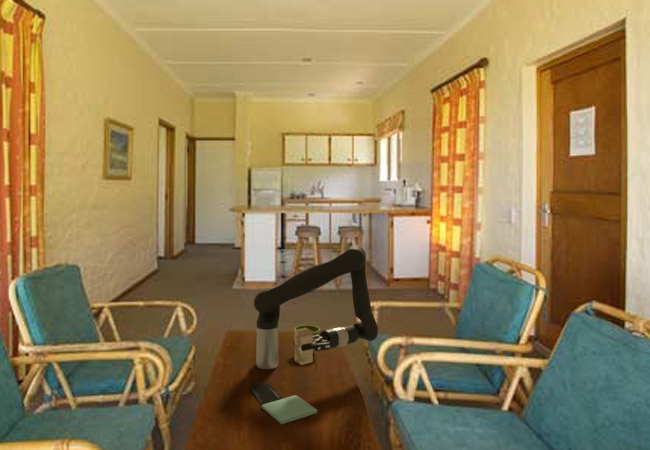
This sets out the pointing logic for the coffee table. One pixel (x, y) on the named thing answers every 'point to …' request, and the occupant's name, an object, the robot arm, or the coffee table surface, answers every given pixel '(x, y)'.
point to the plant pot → (311, 327)
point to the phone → (265, 393)
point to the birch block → (303, 338)
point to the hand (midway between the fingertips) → (297, 345)
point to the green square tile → (289, 409)
